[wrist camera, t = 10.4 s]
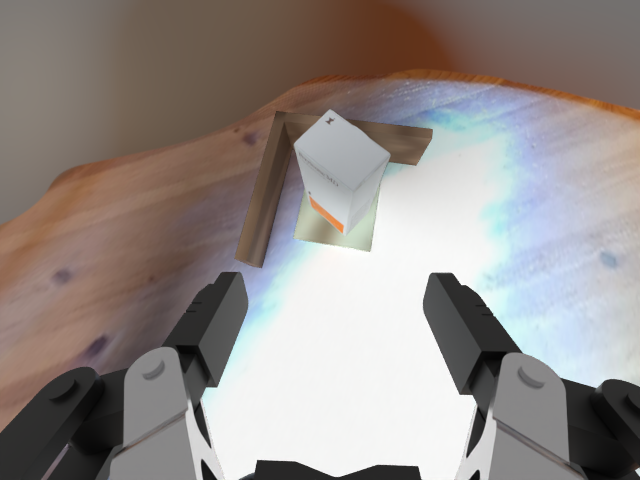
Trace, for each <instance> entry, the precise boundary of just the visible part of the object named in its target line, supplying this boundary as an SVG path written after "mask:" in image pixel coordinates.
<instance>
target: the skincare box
mask: <svg viewBox="0 0 640 480" xmlns="http://www.w3.org/2000/svg"><path fill="white" fill-rule="evenodd" d="M294 148H295V152H296V155H297V159H298V163H299V167H300V171H301V175H302V179H303V183H304V186H305V190H306V194H307V198H308V202H309V205H310V206H311V207H312V208H313V209H314V210H316V211H317V212H318V213H319V214H320V215H321V216H323V217H324V218H325V219H326V220H327V221H328V222H329V223H331V224H332V225H333V226H334V227H335V228H336V229H337V230H338V231H339V232H340V233H341V234H343V235H344V236H346V235H347V234H348V233H349V232H350V231H351V230H352V229H353V228H354V227H355V226H356V225H357V224H358V223H359V222H360V221H361V220H362V219H363V218H364V217H365V216H366V215H367V214H368V212H369V209H370V207H371V204H372V202H373V199H374V196H375V194H376V191H377V188H378V186H379V183H380V181H381V178H382V176H383V173H384V170H385V168H386V166H387V163H388V161H389V158H390V153H389V152H388V151H386V150H385V149H384V148H382V147H381V146H380V145H378V144H377V143H376V142H374V141H373V140H372V139H370V138H369V137H368V136H367V135H366V134H365V133H364V132H363V131H361V130H360V129H359V128H357V127H356V126H354V125H352V124H350V123H349V122H348V121H346V120H345V119H343V118H342V117H341V116H339V115H338V114H337V113H335V112H334V111H333V110H331V109H329V110H328V111H327V112H326V113H325V114H324V115H323V116H322V117H321V118H320V119H319V120H318V121H317V122H316V123H315V124H314V125H313V126H312V127H310V128H309V129H308V130H307V131H306V132H305V133H304V134H303V135H302V136H301V137H300V138H299V139H298V140H297V141H296V142H295V143H294Z"/></svg>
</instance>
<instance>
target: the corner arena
mask: <svg viewBox="0 0 640 480" xmlns="http://www.w3.org/2000/svg"><path fill="white" fill-rule="evenodd" d="M321 117H322V116H314V115H305V114H297V113H288V112H279V111H276V114H275V117H274V121H273V124H272V128H271V131H270V135H269V138H268V142H267V145H266V149H265V152H264V156H263V159H262V163H261V167H260V170H259V174H258V177H257V181H256V184H255V188H254V191H253V195H252V198H251V202H250V205H249V209H248V212H247V216H246V219H245V223H244V226H243V230H242V233H241V237H240V240H239V244H238V247H237V251H236V255H235V258H234V259H236V260H239V261H241V262H243V263H246V264H248V265H250V266H253V267H259V268H262V265H263V261H264V257H265V253H266V249H267V246H268V242H269V238H270V234H271V230H272V226H273V222H274V218H275V214H276V210H277V206H278V202H279V198H280V194H281V190H282V186H283V182H284V178H285V175H286V171H287V167H288V163H289V159H290V155H291V151H292V149H295V148H294V143H295V142H296V141H297V140H298V139H299V138H300V137H301V136H302V135H303V134H304V133H305V132H306V131H307V130H308V129H309V128H310V127H312V126H313V125H314V124H315V123H316V122H317V121H318V120H319V119H320V118H321ZM345 120H346V121H348V122H349V123H350V124H352V125H354V126H356V127H357V128H359V129H360V130H361V131H363V132H364V133H365V134H366V135H367V136H368V137H369V138H370V139H372V140H373V141H374V142H376V143H377V144H378V145H380V146H381V147H382V148H384V149H385V150H386V151H388V152H389V153H390V158H389V161H388V162H394V163H402V164H409V165H417V163H418V162H419V160H420V158H421V156H422V155H423V153H424V151H425V150H426V148H427V146H428V145H429V143H430V141H431V139H432V132H433V129H427V128H418V127H410V126H401V125H392V124H384V123H375V122H366V121H357V120H349V119H345ZM379 187H380V183H379V186H378V188H377V191H376V194H375V196H374V199H373V202H372V204H371V207H370V209H369V212H368V214H367V215H366V216H365V217H364V218H363V219H362V220H361V221H360V222H359V223H358V224H357V225H356V226H355V227H354V228H353V229H352V230H351V231H350V232H349V233H348V234H347V235H346V236H344V235H343V234H341V233H340V232H339V231H338V230H337V229H336V228H335V227H334V226H333V225H332V224H331V223H329V222H328V221H327V220H326V219H325V218H324V217H323V216H321V215H320V214H319V213H318V212H317V211H316V210H314V209H313V208H312V207H311V206H310V205H309V202H308V198H307V194H306V190H305V189H304V193H303V197H302V202H301V206H300V211H299V215H298V219H297V224H296V228H295V232H294V237H293V238H294V239H299V240H304V241H310V242H316V243H322V244H327V245H333V246H339V247H344V248H350V249H356V250H362V251H367V252H370V248H371V242H372V235H373V228H374V221H375V214H376V207H377V201H378V194H379Z"/></svg>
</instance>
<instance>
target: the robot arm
mask: <svg viewBox="0 0 640 480" xmlns="http://www.w3.org/2000/svg"><path fill="white" fill-rule="evenodd" d="M247 310H248V296H247V292H246V288H245V284H244V280H243V276H242V274H241V273H240V272H222V273H221V274H220V275H219V277H218V278H217V280H216V281H215V283H214V284H208V285H207V286H206V287H205V288H203V289H202V290H201V291H200V292H198V294H197V295H196V297H195V298H194V300H193V301H192V304H190V306H189V307H188V308H187V310H186V313H184V314H183V316H182V317H181V319H180V320H179V322H178V323H177V325H176V326H175V327H174V329H173V330H172V332H171V333H170V335H169V336H168V338H167V339H166V341H165V342H164V344H163V345H162V346H161V347H160V348H156V349H154V350H151V351H149V352H147V353H146V354H144V355H142V356H141V357H140V358H138V359H137V360H136V361H135V362H134V363H133V364H132V365H131V367H130V368H127V369H124V370H120V371H116V372H112V373H109V374H105V375H101V376H99V375H98V374H97V373H96V371H95V370H94V369H92V368H90V367H80V368H76V369H73V370H70V371H68V372H66V373H64V374H62V375H60V376H58V377H57V378H55V379H54V380H52V381H51V382H50V383H48V384H47V385H46V386H45V387H44V388H42V389H41V390H40V391H39V392H38V394H37V395H36V396H35V397H34V398H33V399H32V400H31V401H30V402H29V403H28V404H27V405H26V406H25V407H24V408H23V409H22V411H21V412H20V413H19V414H18V415H17V416H16V417H15V418H14V419H13V420H12V421H11V422H10V423H9V424H8V425H7V426H6V428H5V429H4V430H3V431H2V432H1V433H0V480H225V478H224V474H223V471H222V468H221V466H220V463H219V461H218V458H217V455H216V452H215V448H214V444H213V440H212V436H211V432H210V428H209V424H208V420H207V416H206V412H205V409H204V405H203V401H202V398H201V397H202V395H203V393H204V390H205V388H206V387H218V384H219V382H220V379H221V377H222V374H223V371H224V369H225V366H226V364H227V361H228V359H229V356H230V354H231V351H232V349H233V346H234V344H235V341H236V338H237V336H238V333H239V331H240V328H241V326H242V323H243V321H244V318H245V316H246V313H247ZM423 310H424V314H425V316H426V319H427V321H428V323H429V325H430V328H431V330H432V332H433V335H434V337H435V339H436V342H437V344H438V346H439V348H440V351H441V353H442V355H443V358H444V360H445V362H446V364H447V367H448V369H449V371H450V374H451V376H452V378H453V380H454V383H455V385H456V387H457V390H458V392H459V394H460V395H473V397H474V399H475V401H476V405H475V407H474V411H473V415H472V419H471V423H470V428H469V432H468V436H467V440H466V444H465V448H464V452H463V456H462V460H461V463H460V466H459V469H458V471H457V474H456V476H455V479H454V480H640V477H639V475H638V474H637V473H636V471H635V470H636V469H638V468H640V387H639V386H636V385H634V384H632V383H629V382H626V381H622V380H617V379H609V380H606V381H604V382H603V383H602V384H601V385H600V386H599V387H598V388H594V387H591V386H587V385H584V384H580V383H577V382H573V381H570V380H566V379H563V378H560V377H559V376H558V375H557V374H556V373H555V372H554V371H553V370H552V369H551V368H550V367H549V366H547V365H546V364H544V363H543V362H541V361H540V360H538V359H536V358H534V357H532V356H529V355H526V354H523V353H522V351H521V350H520V349H519V347H518V346H517V345H516V343H515V342H514V341H513V340H512V338H511V337H510V336H509V334H508V333H507V332H506V330H505V329H504V328H503V326H502V325H501V324H500V322H499V321H498V320H497V318H496V317H495V316H493V313H492V312H491V310H490V309H489V308H488V307H486V304H485V303H484V301H483V300H482V299H481V297H480V296H479V295H478V294H477V293H476V292H474V291H473V290H472V289H470V288H469V287H468V286H466V285H461V284H460V283H459V281H458V280H457V279H456V277H455V276H454V274H452V273H431V274H430V276H429V279H428V283H427V287H426V291H425V295H424V299H423ZM66 444H69V445H70V447H69V448H66V449H64V450H63V448H64V447H65V446H66ZM239 480H421V476H420V472H419V468H418V466H396V465H375V466H372V467H369V468H366V469H363V470H360V471H357V472H354V473H351V474H348V475H345V476H342V477H333V476H330V475H328V474H325V473H323V472H320V471H318V470H315V469H313V468H310V467H308V466H305V465H303V464H301V463H298V462H293V461H268V460H257V464H256V469H255V473H252V474H249V475H247V476H245V477H243V478H241V479H239Z"/></svg>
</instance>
